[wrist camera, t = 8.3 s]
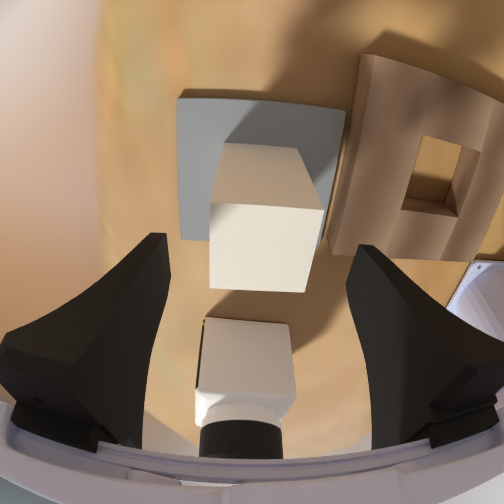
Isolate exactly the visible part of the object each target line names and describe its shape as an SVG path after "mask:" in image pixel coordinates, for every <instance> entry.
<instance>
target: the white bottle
mask: <svg viewBox="0 0 504 504" xmlns="http://www.w3.org/2000/svg"><path fill="white" fill-rule="evenodd" d="M295 399H296V385H295V376H294V367H293V358H292V349H291V341H290V332H289V326H288V325H287V324H279V323H266V322H254V321H243V320H233V319H223V318H213V317H205V318H204V320H203V325H202V334H201V342H200V351H199V360H198V369H197V378H196V388H195V423H196V425H197V426H201V433H200V447H199V457H205V458H220V459H251V460H266V459H283V448H282V432H281V421H282V419H283V418H284V416H285V415H286V413H287V412H288V410H289V408H290V407H291V405H292V403H293V402H294V400H295Z"/></svg>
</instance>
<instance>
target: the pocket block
mask: <svg viewBox="0 0 504 504" xmlns="http://www.w3.org/2000/svg"><path fill="white" fill-rule="evenodd" d="M422 134H423V135H426V136H430V137H434V138H437V139H441V140H445V141H448V142H451V143H455V144H458V145H461V146H462V150H461V153H460V156H459V160H458V163H457V166H456V170H455V173H454V176H453V179H452V182H451V185H450V188H449V191H448V194H447V197H446V199H445V202H444V203H442V202H436V201H429V200H423V199H417V198H410V197H405V194H406V191H407V188H408V184H409V181H410V177H411V174H412V171H413V167H414V163H415V160H416V156H417V152H418V148H419V145H420V141H421V137H422ZM503 192H504V104H503V103H501V102H499V101H497V100H495V99H493V98H491V97H489V96H487V95H485V94H483V93H481V92H478V91H476V90H474V89H472V88H470V87H467V86H465V85H463V84H460V83H458V82H455V81H453V80H450V79H448V78H445V77H443V76H440V75H437V74H435V73H432V72H429V71H426V70H423V69H421V68H418V67H415V66H411V65H408V64H405V63H402V62H399V61H395V60H392V59H388V58H385V57H381V56H377V55H372V54H363V53H361V56H360V63H359V70H358V77H357V84H356V90H355V97H354V103H353V109H352V115H351V120H350V126H349V131H348V137H347V142H346V147H345V153H344V158H343V163H342V168H341V173H340V177H339V182H338V187H337V191H336V196H335V201H334V205H333V209H332V214H331V218H330V222H329V227H328V231H327V235H326V238H327V241H328V244H329V246H330V249H331V252H332V255H341V256H355V254H356V251H357V248H358V245H359V244H365V245H374V246H375V247H376V248H377V249H379V250H380V251H381V252H382V253H383V254H384V255H385V256H386V257H388V258H399V259H418V260H438V261H457V262H473V260H474V258H475V256H476V254H477V252H478V250H479V248H480V246H481V244H482V242H483V239H484V237H485V235H486V233H487V231H488V228H489V226H490V224H491V222H492V219H493V217H494V215H495V212H496V210H497V207H498V205H499V202H500V200H501V197H502V195H503Z"/></svg>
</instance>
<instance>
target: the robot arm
mask: <svg viewBox="0 0 504 504" xmlns="http://www.w3.org/2000/svg"><path fill="white" fill-rule="evenodd" d="M170 279H171V271H170V263H169V253H168V244H167V234H166V233H150V234H149V235H147V236H146V237H145V238H144V239H143V240H142V241H141V242H140V243H139V244H138V245H137V246H136V247H135V248H134V249H133V250H132V251H131V252H130V253H129V254H128V255H127V256H125V257H124V258H123V259H122V260H121V261H120V262H119V263H118V264H117V265H116V266H115V267H113V268H112V269H111V270H110V271H109V272H108V273H106V274H105V275H104V276H103V277H102V278H101V279H100V280H98V281H97V282H96V283H94V284H93V285H92V286H91V287H89V288H88V289H86V290H85V291H84V292H82V293H81V294H80V295H78V296H77V297H75V298H73V299H72V300H70V301H69V302H67V303H65V304H64V305H62V306H61V307H59V308H58V309H56V310H54V311H52V312H51V313H49V314H47V315H45V316H43V317H41V318H39V319H38V320H35V321H33V322H31V323H29V324H27V325H24V326H22V327H19V328H17V329H15V330H13V331H10V332H7V333H6V334H5V336H4V338H3V340H2V342H1V344H0V384H1V385H2V386H3V387H4V388H5V389H6V390H7V391H8V392H9V394H10V395H11V396H12V397H13V398H14V399H15V400H16V401H17V402H16V404H15V407H14V408H13V407H11V406H10V405H8V404H6V403H4V402H2V401H0V476H1V477H3V478H5V479H6V480H8V481H10V482H12V483H14V484H16V485H18V486H20V487H22V488H24V489H26V490H28V491H31V492H33V493H35V494H37V495H40V496H42V497H44V498H47V499H49V500H52V501H54V502H57V503H59V504H438V503H440V502H443V501H445V500H448V499H450V498H452V497H454V496H457V495H459V494H462V493H464V492H466V491H468V490H470V489H472V488H474V487H476V486H479V485H480V484H482V483H485V482H487V481H488V480H490V479H492V478H494V477H496V476H498V475H499V474H501V473H503V472H504V261H489V260H474V261H473V262H472V263H471V264H470V266H469V268H468V270H467V272H466V274H465V275H464V277H463V279H462V281H461V283H460V285H459V286H458V288H457V290H456V292H455V293H454V295H453V297H452V298H451V300H450V302H449V303H448V305H447V307H446V308H445V307H443V306H442V305H441V304H439V303H438V302H437V301H435V300H434V299H433V298H432V297H430V296H429V295H428V294H427V293H426V292H425V291H423V290H422V289H421V288H420V287H419V286H418V285H417V284H415V283H414V282H413V281H412V280H411V279H410V278H409V277H408V276H407V275H406V274H405V273H403V272H402V271H401V270H400V269H399V268H398V267H397V266H396V265H395V264H394V263H393V262H392V261H391V260H390V259H389V258H388V257H386V256H385V255H384V254H383V253H382V252H381V251H380V250H379V249H377V248H376V247H375V246H374V245H365V244H359V245H358V248H357V251H356V254H355V257H354V260H353V264H352V267H351V270H350V273H349V275H348V278H347V281H346V290H347V296H348V302H349V307H350V310H351V314H352V317H353V320H354V324H355V327H356V330H357V333H358V337H359V340H360V343H361V347H362V350H363V354H364V358H365V362H366V369H367V375H368V382H369V391H370V401H371V418H372V450H369V451H364V452H357V453H349V454H342V455H333V456H324V457H311V458H296V459H266V460H251V459H220V458H205V457H193V456H184V455H174V454H167V453H160V452H153V451H147V450H142V427H143V412H144V401H145V392H146V384H147V376H148V369H149V363H150V357H151V352H152V348H153V344H154V341H155V337H156V334H157V331H158V327H159V324H160V321H161V317H162V314H163V311H164V307H165V304H166V300H167V296H168V291H169V285H170ZM175 479H177V480H175ZM179 480H186V481H196V482H209V483H227V484H239V485H233V486H230V487H206V486H205V487H204V486H182V485H181V482H180V481H179Z"/></svg>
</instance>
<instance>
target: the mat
mask: <svg viewBox="0 0 504 504" xmlns="http://www.w3.org/2000/svg"><path fill="white" fill-rule="evenodd" d="M345 116H346V111H344V110H341V109H335V108H328V107H322V106H314V105H307V104H299V103H290V102H280V101H269V100H256V99H240V98H213V97H178V98H177V169H178V195H179V215H180V232H181V240H197V241H210V199H211V195H212V190H213V186H214V181H215V177H216V173H217V168H218V164H219V160H220V155H221V151H222V147H223V143H240V144H255V145H268V146H280V147H290V148H297V149H298V152H299V154H300V156H301V158H302V160H303V162H304V165H305V167H306V169H307V171H308V174H309V176H310V178H311V180H312V183H313V185H314V187H315V190H316V192H317V194H318V197H319V199H320V201H321V204H322V206H323V208H324V214H323V218H322V223H321V227H320V231H319V236H318V240H317V244H316V247H319V244H320V240H321V236H322V231H323V227H324V223H325V218H326V214H327V209H328V204H329V200H330V195H331V190H332V186H333V181H334V176H335V171H336V166H337V160H338V155H339V150H340V145H341V139H342V134H343V128H344V122H345Z"/></svg>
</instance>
